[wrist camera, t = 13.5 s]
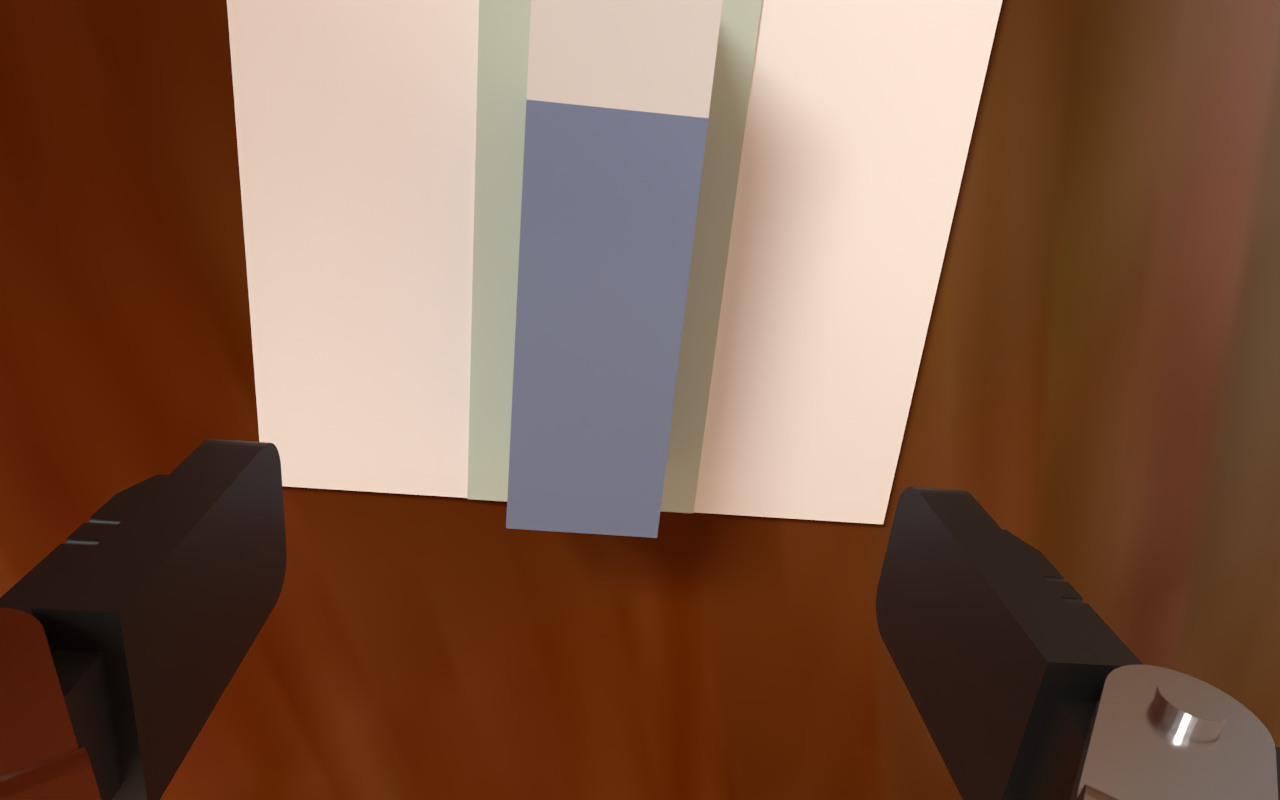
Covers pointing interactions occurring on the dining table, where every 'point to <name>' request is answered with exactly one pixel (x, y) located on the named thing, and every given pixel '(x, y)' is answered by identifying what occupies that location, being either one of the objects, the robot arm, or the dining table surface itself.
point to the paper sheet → (490, 237)
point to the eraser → (605, 256)
